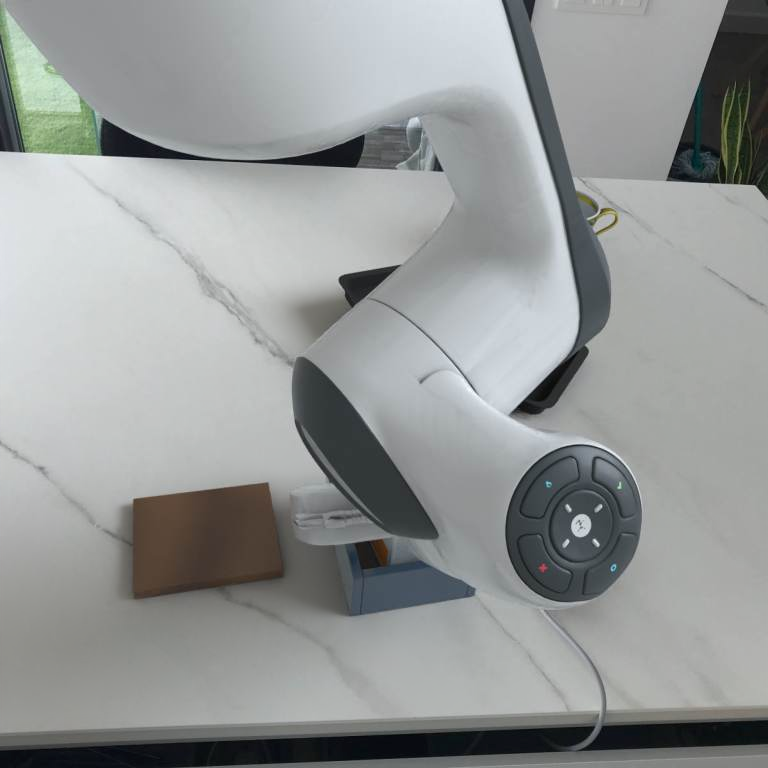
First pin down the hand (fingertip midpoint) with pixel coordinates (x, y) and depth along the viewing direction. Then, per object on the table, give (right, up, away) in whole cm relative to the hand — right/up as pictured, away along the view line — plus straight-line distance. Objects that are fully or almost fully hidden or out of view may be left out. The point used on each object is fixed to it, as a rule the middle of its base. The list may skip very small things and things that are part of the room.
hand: (409, 492), depth 62 cm
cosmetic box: (-1, -6, +6) cm, 9 cm away
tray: (+5, +12, +28) cm, 31 cm away
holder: (-1, -6, +6) cm, 8 cm away
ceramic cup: (+22, +24, +45) cm, 56 cm away
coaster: (-17, -5, +5) cm, 19 cm away
